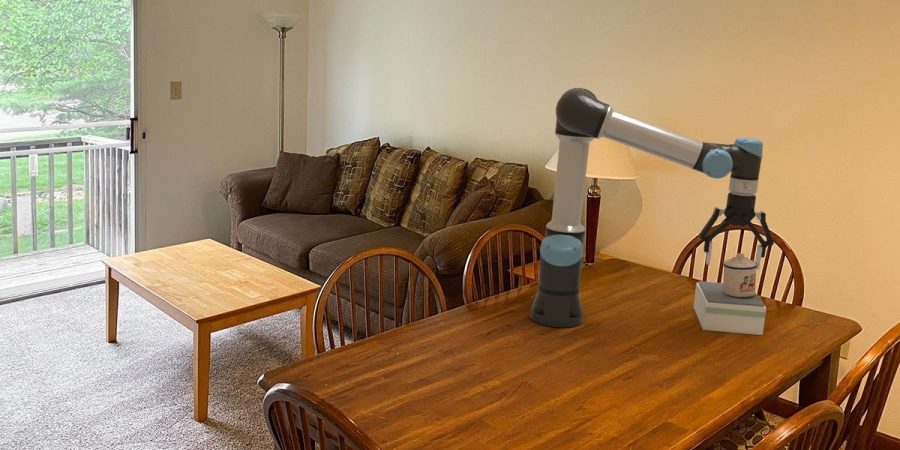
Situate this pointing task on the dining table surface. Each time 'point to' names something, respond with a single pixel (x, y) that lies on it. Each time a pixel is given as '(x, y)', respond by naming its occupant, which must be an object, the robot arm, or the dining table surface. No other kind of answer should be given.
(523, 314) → the dining table surface
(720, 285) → the stand
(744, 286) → the teacup with lid
